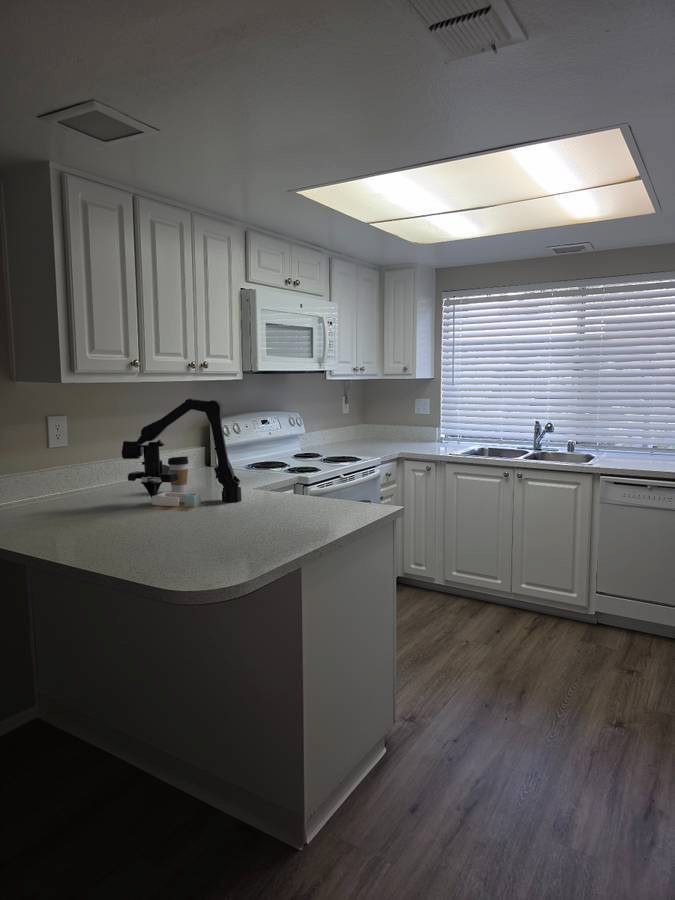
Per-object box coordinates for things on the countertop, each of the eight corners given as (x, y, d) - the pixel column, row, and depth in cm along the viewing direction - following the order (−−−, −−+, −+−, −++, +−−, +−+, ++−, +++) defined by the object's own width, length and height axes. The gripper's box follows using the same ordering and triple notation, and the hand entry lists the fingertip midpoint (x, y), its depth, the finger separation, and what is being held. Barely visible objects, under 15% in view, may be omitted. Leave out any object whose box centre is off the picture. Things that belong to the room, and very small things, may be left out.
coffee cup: (186, 494, 255) (185, 458, 253) (166, 494, 255) (164, 458, 253) (191, 490, 263) (190, 455, 261) (172, 490, 263) (170, 455, 262)
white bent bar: (190, 501, 234) (190, 493, 233) (178, 506, 226) (177, 497, 226) (165, 500, 237) (164, 492, 237) (152, 504, 229) (151, 496, 229)
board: (207, 506, 232) (207, 503, 232) (187, 514, 219) (187, 511, 219) (165, 503, 238) (165, 500, 238) (143, 511, 224) (143, 508, 224)
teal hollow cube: (200, 504, 230) (200, 493, 230) (194, 506, 226) (194, 496, 226) (190, 503, 231) (190, 493, 231) (184, 506, 227) (184, 495, 227)
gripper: (185, 456, 237) (187, 496, 239) (143, 455, 242) (145, 494, 244) (168, 460, 226) (170, 502, 228) (125, 458, 232) (128, 499, 234)
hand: (154, 499), depth 234 cm, fingers closed
